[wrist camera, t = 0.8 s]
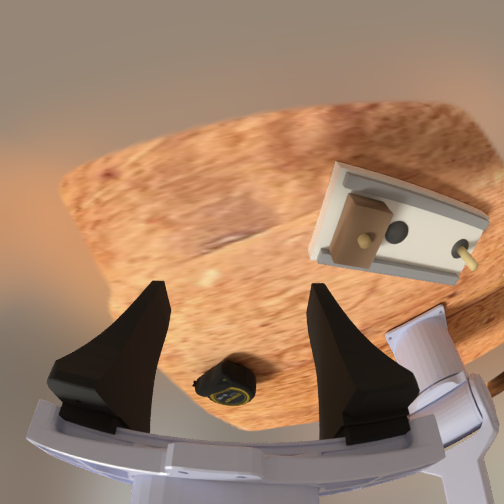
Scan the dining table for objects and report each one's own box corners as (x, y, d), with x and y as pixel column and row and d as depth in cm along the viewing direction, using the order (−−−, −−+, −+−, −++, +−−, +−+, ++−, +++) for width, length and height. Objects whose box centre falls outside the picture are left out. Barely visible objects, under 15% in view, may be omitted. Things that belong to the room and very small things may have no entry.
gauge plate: (481, 210, 22) (506, 233, 18) (447, 274, 26) (466, 302, 23) (335, 161, 20) (351, 181, 17) (307, 249, 25) (315, 282, 21)
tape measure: (225, 351, 34) (222, 377, 30) (267, 372, 36) (267, 396, 33) (194, 371, 37) (190, 394, 33) (234, 389, 39) (232, 411, 36)
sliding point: (383, 202, 20) (396, 217, 18) (362, 254, 23) (370, 273, 21) (348, 192, 20) (358, 208, 18) (328, 248, 22) (334, 267, 20)
